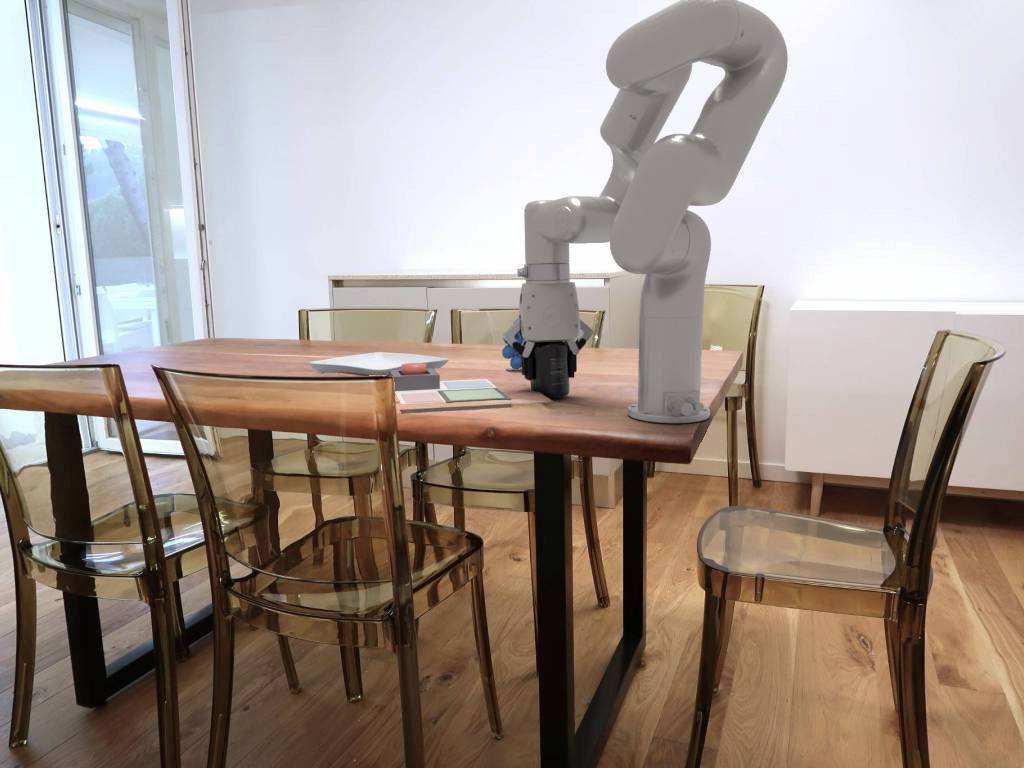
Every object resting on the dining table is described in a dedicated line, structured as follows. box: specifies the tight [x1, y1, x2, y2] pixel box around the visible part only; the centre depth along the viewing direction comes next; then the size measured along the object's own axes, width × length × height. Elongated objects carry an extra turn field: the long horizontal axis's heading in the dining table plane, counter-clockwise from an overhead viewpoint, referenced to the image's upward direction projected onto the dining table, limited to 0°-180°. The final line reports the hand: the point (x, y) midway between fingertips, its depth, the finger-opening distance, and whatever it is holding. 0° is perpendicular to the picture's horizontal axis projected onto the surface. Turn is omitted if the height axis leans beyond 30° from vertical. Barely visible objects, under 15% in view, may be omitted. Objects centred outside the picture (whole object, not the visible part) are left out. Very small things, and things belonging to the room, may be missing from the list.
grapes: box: [501, 318, 524, 370], centre depth 174 cm, size 12×7×12 cm, turn 77°
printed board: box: [394, 378, 512, 414], centre depth 143 cm, size 21×18×2 cm
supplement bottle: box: [529, 341, 571, 399], centre depth 143 cm, size 7×7×12 cm
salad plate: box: [308, 351, 450, 376], centre depth 172 cm, size 21×21×3 cm
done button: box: [401, 363, 426, 375], centre depth 148 cm, size 4×4×2 cm
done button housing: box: [388, 368, 441, 391], centre depth 148 cm, size 8×8×2 cm
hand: (549, 377), depth 144 cm, fingers closed on supplement bottle, 6 cm apart
